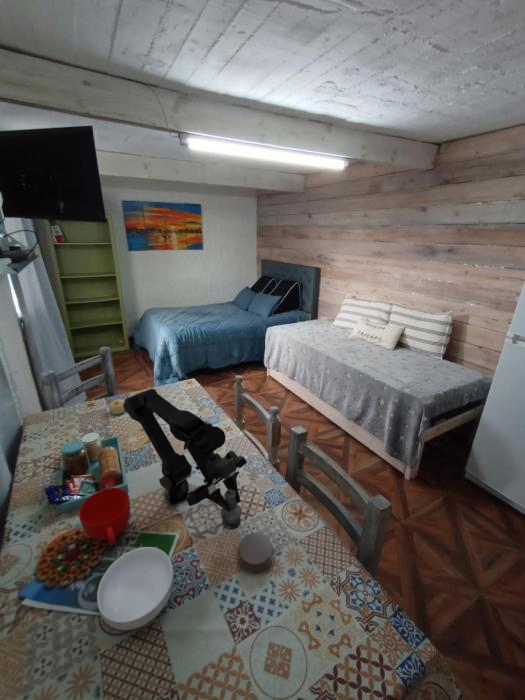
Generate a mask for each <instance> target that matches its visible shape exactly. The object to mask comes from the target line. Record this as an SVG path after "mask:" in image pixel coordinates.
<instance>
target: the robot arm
mask: <svg viewBox="0 0 525 700" xmlns="http://www.w3.org/2000/svg"><path fill="white" fill-rule="evenodd" d="M124 401H125V403H124V404H123V407H124V410H125V411H124V412H125V413H127V415H128V416H129V417H130V418H131V419H132V420H133V421H135V422H138V423H139V424H140V425H141V427H142V429H143V431H144V433H145V434H146V436H147V438H148V440H149V441H150V443H151V445H152V446H153V448H154V450H155V452H156V453H157V455H158V457H159V459H160V461H161V473H162V476H161V477H160V478H159V479H158V481H159V482H158V483H159V485H160V486H161V487H162V488H164V489H165V492H164V494H165V496H166V498H167V500H168V503H169V505H170V506H171V507H172V506H174V505H176V504H179V503H181V502H183V501H186V503H187V504H188V507H192V506H195V505H197V504H199V503H201V502H202V501H203V500H206V499H207V500H209V501H211V502H213V503H214V504H216V505H217V506H219V507H220V508H221V509H222V508H223V509H225V510H226V511H227V512H230V511H231V510H230V507H229V505H228V504H227V502H226V501H225V497H224V496H223V495H222V492H221V487H216V485H218V483H220V482H222V483H223V485H224V486H225V488H226V489H227V490H229V489H232V490H234V491H235V493H236V499H237V504H239V503H241V497H240V493H239V488H238V481H237V480H238V475H239V474H240V471H237V469H242V468H243V467H244V466H245V465H246V464H247V463H248V461H247V459H246V458H245V457H244V456H243V455H237V454H236V453H235V451H234V450H229V451H228V452H227V453H226V454H225V455H224V456H223V457H222V456H221V455H220V453H218V452H216V453H215V451H216V450H218V449H220V448H222V447H223V446H224V444H225V443H226V438H227V437H226V434H225V431H224V430H223V428H220V427H219V426H217V425H215V426H214V425H213V424H212V423H211V422H209V423H208V422H207V421H205V420H203V419H202V418H201V417H199V416H197V415H196V414H195V413H193V412H191V411H189V410H184V409H179V408H178V407H176V406H175V405H173V404H172V403H171V402H169V401H168V400H167V399H166V398H164V397H163V396H161V395H160V394H159V393H158V391H157V390H156V389H155V388H149V389H147V390H144V391H141V392H139V393H136V394H134V395H131V396H129V397H126V398H125V399H124ZM155 415H157V417H159V419H161V420H163V421H164V422H165V423H166V424H167V425H168V427H169V432H170V433H171V435H172V436H173V437H174V439H176V440H178V441H180V442H184V443H183V450H184V451H186V450H187V451H188V453H189V455H190V456H191V458H192V460H193V461H194V463H195V465H196V466H195V469H196V471H200V474H201V475H202V477H203V478H204V479H203V480H202V482H203V483H204V484H201V485H199V486H196V487H195V488H194V489H193V490H191V492H190V485H189V481H188V480H187V479H189V478H191V476H192V472H193V467H192V465H191V463H190V462H189V460H188V458H187V457H186V455H185V454H184V453H182V454H179V453H178V452H176V451H175V448H174V447H173V445H172V444H171V441H169V439H168V436H167V435H166V433H165V431H164V430H163V428H162V426H161V424H160V423H159V421H158V419H157V417H156V416H155Z"/></svg>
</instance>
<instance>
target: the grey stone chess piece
mask: <svg viewBox="0 0 525 700" xmlns="http://www.w3.org/2000/svg"><path fill="white" fill-rule="evenodd" d="M224 499H225V501H226V502H227V504H228V505H229V507H230V510H231V511H230V512H227V511H226V510H225V509H223V508H222V507H221V509H220V517H221V519H222V520H221V525H222V527H223V529H225V530H228V531H234V530H237V529H238V528H239V527H240V525H241V522H242V519H241V516H242V514H243V513H242V508H241V506H239V505H238V503H237V499H236V493H235V491H234V490H232V489H229V490H228V489H227V490H226V491H225V493H224Z"/></svg>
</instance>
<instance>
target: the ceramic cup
mask: <svg viewBox="0 0 525 700" xmlns="http://www.w3.org/2000/svg"><path fill="white" fill-rule="evenodd" d="M130 514H131V501H130V496H129V493H128V492H127V491H126V490H124V489H123V488H120V487H109V488H104V489H101V490H99V491H97V492H95V493H93V494H92V495H90V496H89V497H88V498H87V499H86V500H85V501H84V502H83V503H82V504H81V506H80V509H79V512H78V517H79V520H80V524H81V526H82V528H83V530H84V531H85V533H86V534H87V535H88V536H89V537H91V538H92V539H94V540H96V541H108V543H109V545H114V544H115V543H116V537H118V536H119V535H120V534H121V533H122V532H123V530H125V528H126V526H127V525H128V522H129V519H130V516H131V515H130Z"/></svg>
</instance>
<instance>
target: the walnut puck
mask: <svg viewBox="0 0 525 700" xmlns="http://www.w3.org/2000/svg"><path fill="white" fill-rule="evenodd" d="M272 559H273V544H272V542H271V540H270V538H269V537H268V536H267V535H265V534H263V533H261V532H250V533H248V534H246V535H245V536H243V537H242V539H241V540H240V542H239V544H238V561H239V564H240V566H241V567H242V569H244V570H245V571H246V572H248V573H251V574H260V573H262V572H264V571H266V570H267V569H268V568H269V566H270V565H271V563H272V561H273V560H272Z"/></svg>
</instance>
